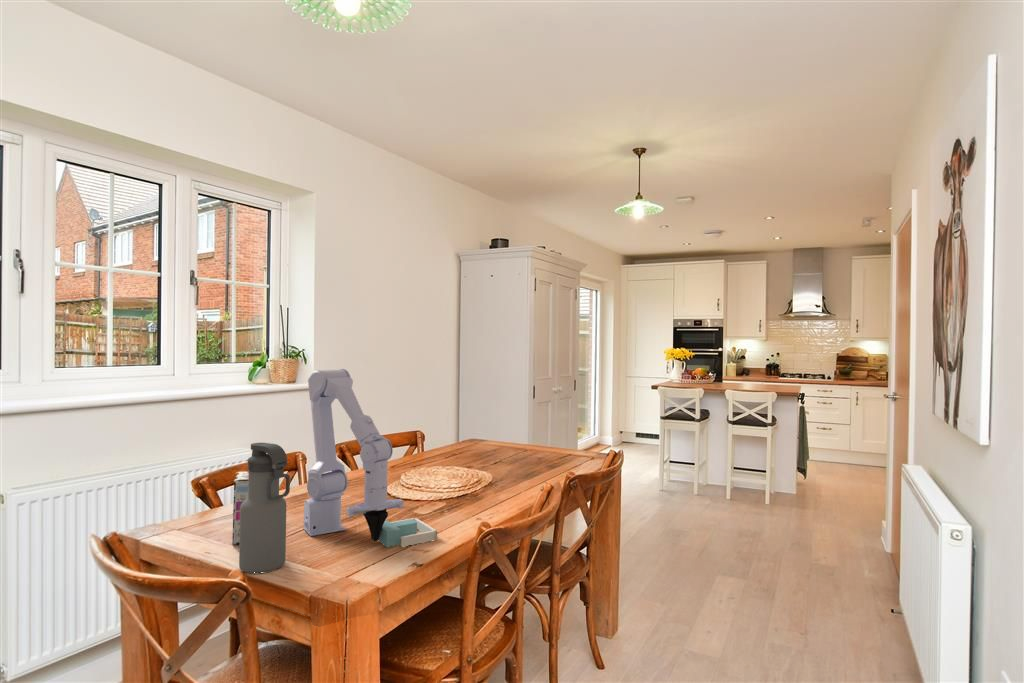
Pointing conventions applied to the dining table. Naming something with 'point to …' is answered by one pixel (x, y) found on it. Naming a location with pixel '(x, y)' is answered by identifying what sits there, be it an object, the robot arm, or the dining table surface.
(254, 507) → the water bottle
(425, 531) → the white u-shaped bracket
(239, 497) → the candy bar box
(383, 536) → the t block
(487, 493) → the dining table surface
